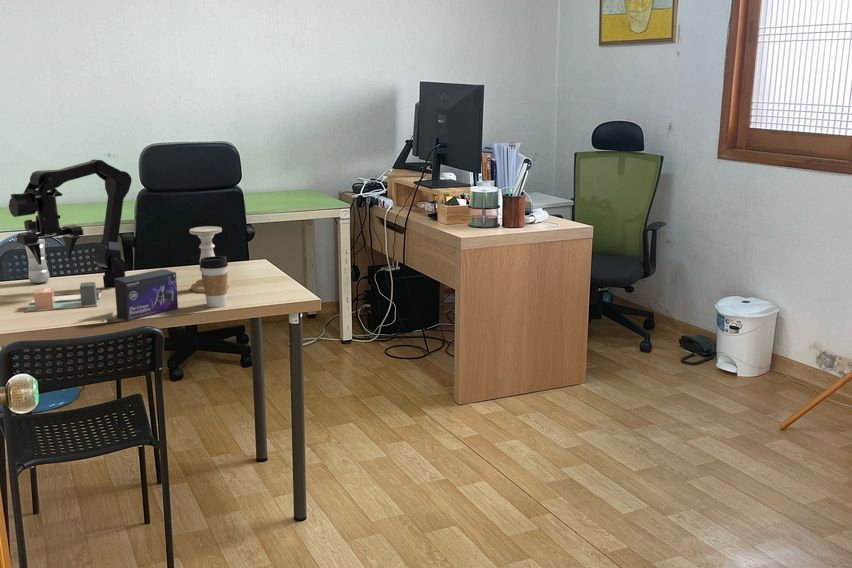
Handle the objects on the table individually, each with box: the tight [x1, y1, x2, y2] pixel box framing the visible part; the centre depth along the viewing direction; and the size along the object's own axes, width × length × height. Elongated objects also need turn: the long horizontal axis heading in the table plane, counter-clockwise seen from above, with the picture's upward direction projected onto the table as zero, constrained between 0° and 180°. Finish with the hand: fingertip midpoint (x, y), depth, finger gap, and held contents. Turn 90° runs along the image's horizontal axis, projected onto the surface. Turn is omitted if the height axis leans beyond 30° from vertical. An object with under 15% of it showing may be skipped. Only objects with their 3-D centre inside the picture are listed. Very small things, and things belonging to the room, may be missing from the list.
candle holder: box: [189, 225, 230, 294], centre depth 274 cm, size 12×12×20 cm
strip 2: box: [30, 288, 102, 303], centre depth 262 cm, size 20×7×2 cm, turn 107°
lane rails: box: [24, 289, 102, 314], centre depth 258 cm, size 20×19×2 cm
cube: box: [32, 287, 56, 309], centre depth 252 cm, size 5×5×5 cm
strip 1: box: [26, 281, 100, 310], centre depth 253 cm, size 20×7×7 cm, turn 107°
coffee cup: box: [199, 255, 229, 308], centre depth 255 cm, size 8×8×15 cm
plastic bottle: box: [24, 231, 50, 284], centre depth 285 cm, size 6×7×20 cm
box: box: [114, 268, 179, 322], centre depth 247 cm, size 17×7×12 cm, turn 139°
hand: (54, 261), depth 259 cm, fingers open, 9 cm apart
